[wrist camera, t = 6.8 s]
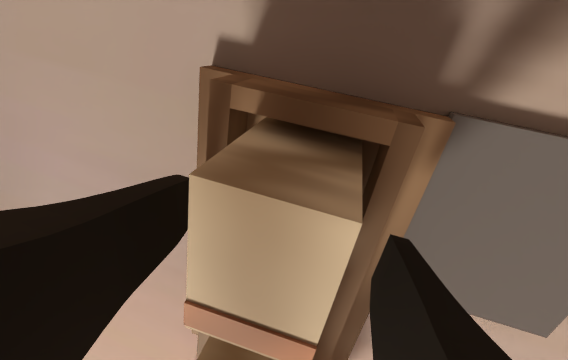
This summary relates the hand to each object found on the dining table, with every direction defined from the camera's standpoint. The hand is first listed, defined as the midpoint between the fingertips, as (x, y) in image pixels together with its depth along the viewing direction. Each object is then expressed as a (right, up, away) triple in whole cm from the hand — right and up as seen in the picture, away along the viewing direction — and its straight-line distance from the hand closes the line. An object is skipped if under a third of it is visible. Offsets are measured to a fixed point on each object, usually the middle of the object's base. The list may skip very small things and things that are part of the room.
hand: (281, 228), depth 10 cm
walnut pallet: (0, -2, +5) cm, 6 cm away
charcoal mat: (+10, -1, +2) cm, 10 cm away
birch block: (+1, +1, +3) cm, 3 cm away
